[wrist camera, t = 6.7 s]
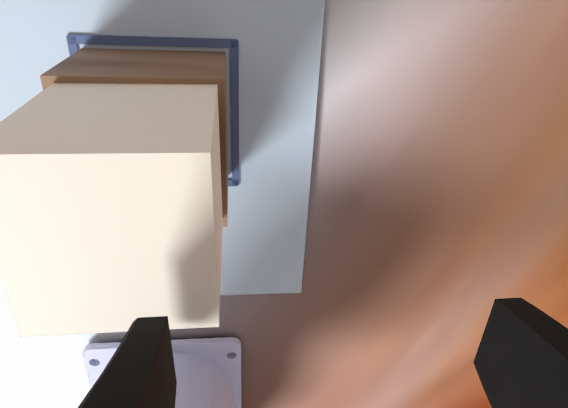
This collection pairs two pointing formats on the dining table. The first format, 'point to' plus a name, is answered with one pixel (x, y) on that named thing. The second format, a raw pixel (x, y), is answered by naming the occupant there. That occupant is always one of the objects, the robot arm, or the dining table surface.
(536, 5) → the dining table surface
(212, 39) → the board
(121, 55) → the walnut base block
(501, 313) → the robot arm
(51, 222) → the ivory block
